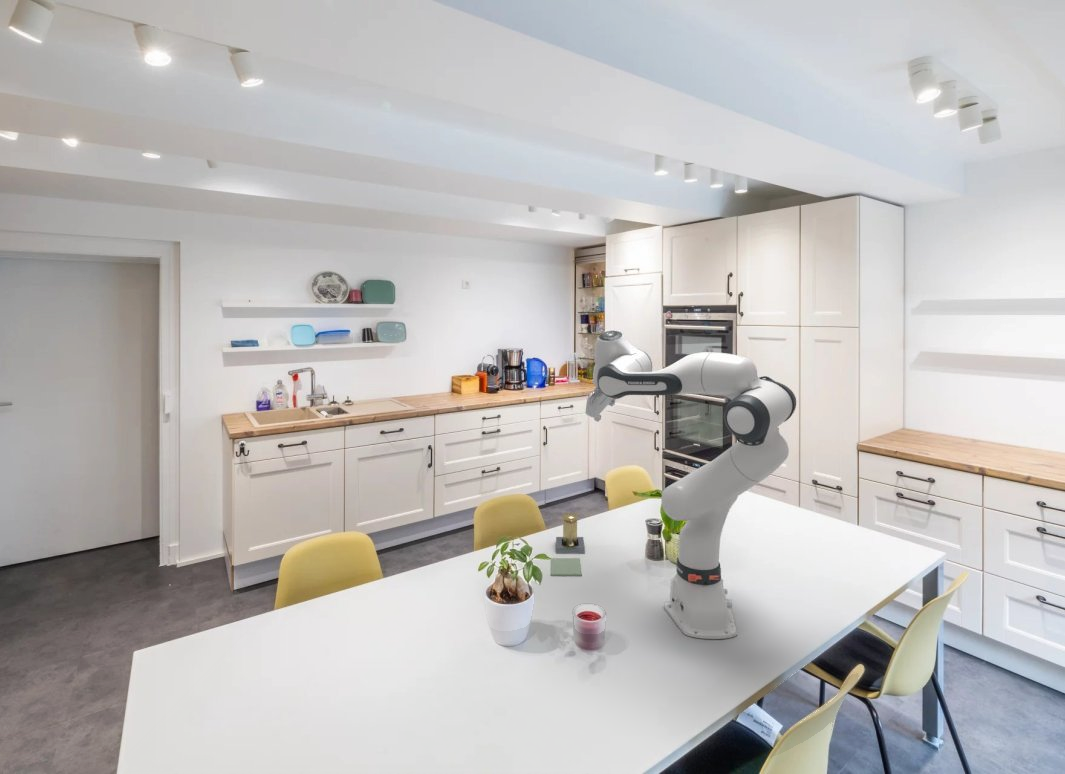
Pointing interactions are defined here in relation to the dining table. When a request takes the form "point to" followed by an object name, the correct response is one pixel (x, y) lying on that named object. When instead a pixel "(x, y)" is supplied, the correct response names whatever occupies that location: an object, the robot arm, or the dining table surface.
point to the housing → (570, 547)
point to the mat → (565, 567)
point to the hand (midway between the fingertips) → (604, 412)
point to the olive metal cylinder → (569, 529)
